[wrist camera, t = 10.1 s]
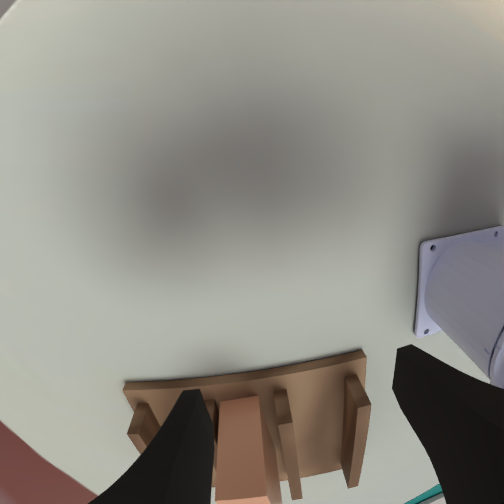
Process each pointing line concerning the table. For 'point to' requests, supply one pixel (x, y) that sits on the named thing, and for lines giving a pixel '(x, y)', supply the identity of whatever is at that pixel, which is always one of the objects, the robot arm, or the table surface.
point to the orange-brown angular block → (245, 455)
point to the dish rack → (279, 413)
